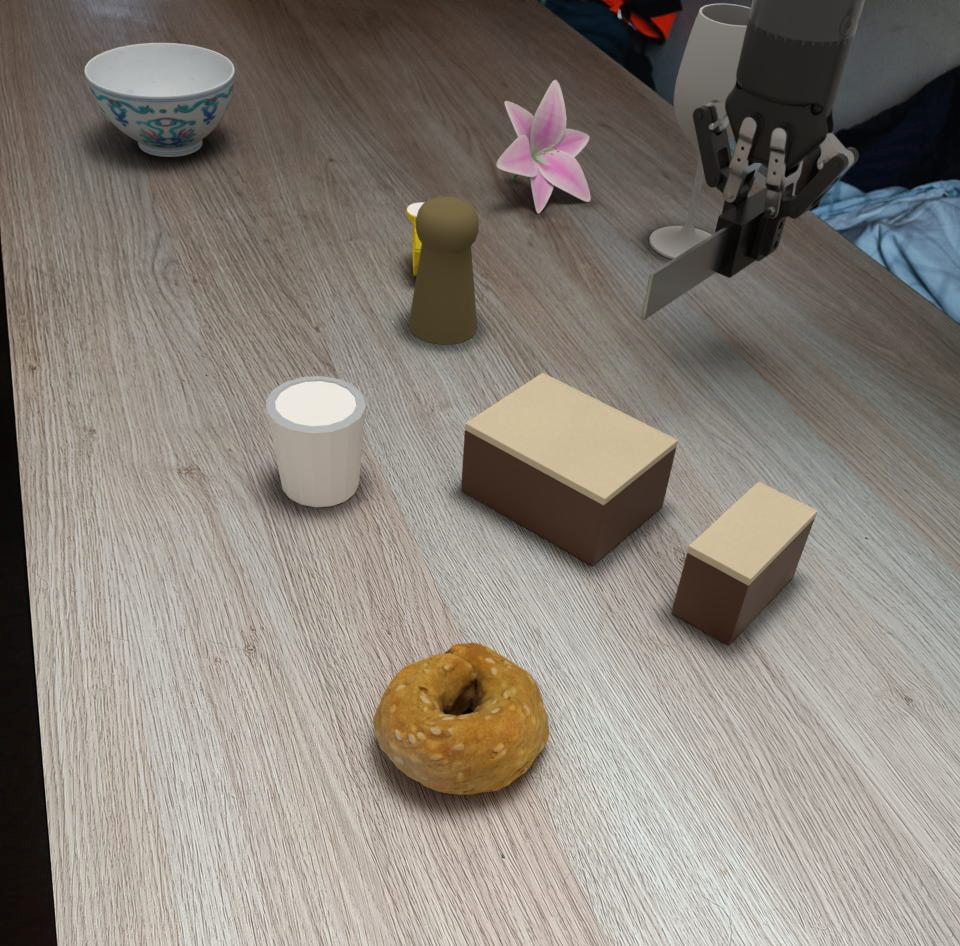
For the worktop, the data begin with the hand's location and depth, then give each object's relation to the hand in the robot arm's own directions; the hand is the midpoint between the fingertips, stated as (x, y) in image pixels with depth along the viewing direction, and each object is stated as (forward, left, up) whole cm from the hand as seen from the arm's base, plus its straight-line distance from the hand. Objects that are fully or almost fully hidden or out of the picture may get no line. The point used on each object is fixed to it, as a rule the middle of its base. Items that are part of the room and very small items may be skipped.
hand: (744, 249), depth 90 cm
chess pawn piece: (+14, -20, -10) cm, 26 cm away
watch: (+8, -28, -10) cm, 31 cm away
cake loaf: (+26, +2, -10) cm, 28 cm away
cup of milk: (+37, -12, -10) cm, 40 cm away
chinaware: (+7, -65, -10) cm, 66 cm away
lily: (-13, -30, -10) cm, 34 cm away
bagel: (+48, +11, -10) cm, 50 cm away
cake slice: (+26, +17, -10) cm, 33 cm away
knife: (+5, 0, -1) cm, 5 cm away
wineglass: (-15, -13, -10) cm, 22 cm away
